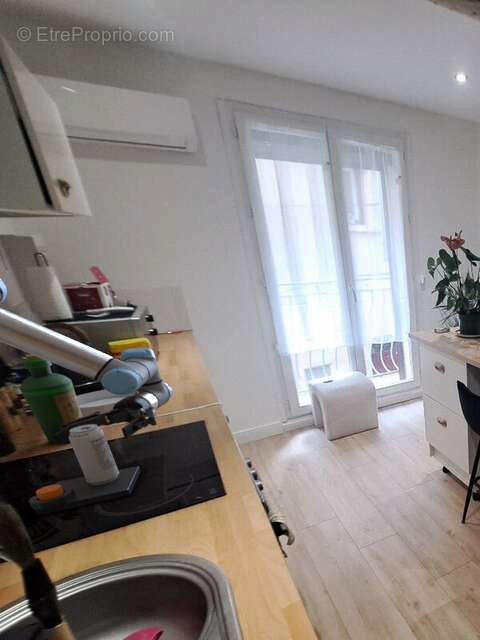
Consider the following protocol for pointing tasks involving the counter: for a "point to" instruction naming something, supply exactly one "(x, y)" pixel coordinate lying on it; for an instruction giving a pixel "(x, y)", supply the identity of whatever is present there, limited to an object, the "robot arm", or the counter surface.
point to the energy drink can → (93, 454)
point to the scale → (87, 492)
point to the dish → (98, 402)
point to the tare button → (49, 492)
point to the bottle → (49, 396)
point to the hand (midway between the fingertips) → (91, 436)
